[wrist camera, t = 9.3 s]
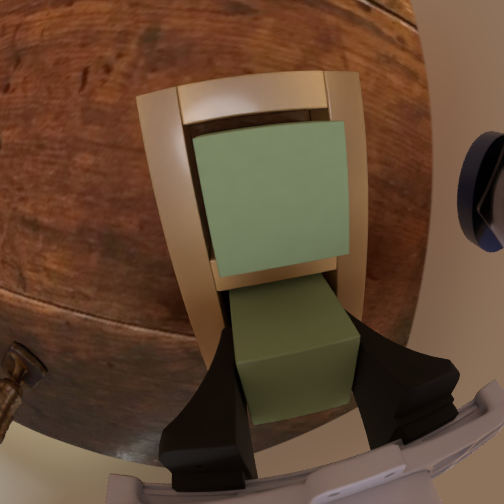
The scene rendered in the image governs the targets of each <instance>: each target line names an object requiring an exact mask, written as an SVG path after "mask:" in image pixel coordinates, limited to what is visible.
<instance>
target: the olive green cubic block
mask: <svg viewBox="0 0 504 504" xmlns="http://www.w3.org/2000/svg"><path fill="white" fill-rule="evenodd" d="M229 298H230V309H231V320H232V331H233V341H234V351H235V361H236V366H237V370H238V373H239V377H240V381H241V384H242V388H243V391H244V395H245V398H246V402H247V405H248V409H249V412H250V416H251V419H252V422H253V424H254V425H255V424H262V423H267V422H273V421H278V420H283V419H288V418H293V417H297V416H302V415H306V414H310V413H314V412H318V411H322V410H326V409H330V408H333V407H337V406H340V405H344V404H347V403H349V400H350V395H351V390H352V385H353V380H354V374H355V368H356V363H357V356H358V350H359V343H360V334H359V332H358V331H357V329H356V328H355V326H354V324H353V323H352V321H351V319H350V318H349V316H348V315H347V313H346V311H345V310H344V308H343V307H342V305H341V303H340V302H339V300H338V299H337V297H336V296H335V294H334V292H333V291H332V289H331V288H330V286H329V285H328V283H327V282H326V280H325V279H324V277H323V275H322V274H321V273H316V274H311V275H306V276H301V277H295V278H290V279H285V280H279V281H274V282H269V283H263V284H258V285H252V286H246V287H241V288H235V289H229Z"/></svg>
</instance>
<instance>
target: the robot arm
mask: <svg viewBox="0 0 504 504" xmlns="http://www.w3.org/2000/svg"><path fill="white" fill-rule="evenodd" d="M477 212H478V213H479V215H480V216H481V217H482V219H483V220H484V221H485V223H486V224H487V225H488V227H489V228H490V230H491V231H492V232H493V234H494V235H495V237H496V238H497V239H498V241H499V242H500V244H501V245H502V247H503V248H504V144H503V147H502V150H501V152H500V155H499V158H498V160H497V163H496V165H495V168H494V170H493V172H492V175H491V177H490V179H489V182H488V184H487V186H486V188H485V191H484V193H483V195H482V197H481V199H480V201H479V203H478V205H477ZM344 310H345V309H344ZM345 311H346V313H347V315H348V316H349V318H350V319H351V321H352V323H353V324H354V326H355V328H356V329H357V331H358V332H359V334H360V343H359V350H358V356H357V363H356V368H355V374H354V380H353V385H352V392H353V394H354V397H355V400H356V403H357V405H358V408H359V411H360V414H361V417H362V420H363V424H364V427H365V430H366V434H367V438H368V442H369V446H370V449H371V451H368V452H365V453H362V454H360V455H356V456H353V457H350V458H347V459H344V460H341V461H337V462H334V463H330V464H327V465H323V466H320V467H316V468H312V469H307V470H303V471H299V472H294V473H289V474H284V475H278V476H272V477H267V478H259V479H258V475H257V470H256V465H255V459H254V454H253V448H252V442H251V436H250V430H249V424H248V417H247V404H246V398H245V395H244V391H243V388H242V384H241V381H240V377H239V373H238V370H237V366H236V361H235V351H234V341H233V331H232V327H230V328H223V330H222V331H221V336H220V340H219V344H218V347H217V350H216V353H215V355H214V358H213V361H212V363H211V365H210V367H209V370H208V372H207V374H206V376H205V378H204V380H203V381H202V383H201V385H200V387H199V388H198V390H197V391H196V393H195V394H194V396H193V397H192V399H191V400H190V402H189V403H188V404H187V405H186V407H185V408H184V409H183V410H182V411H181V413H180V414H179V415H178V416H177V417H176V418H175V419H174V420H173V421H172V422H171V423H170V424H169V425H168V426H167V427H166V428H165V429H164V430H163V432H162V436H161V440H160V444H159V461H160V462H161V463H162V464H163V465H164V466H165V467H166V468H167V469H168V470H169V471H170V472H171V473H172V484H160V483H143V482H142V481H141V480H140V479H138V478H136V477H133V476H128V475H119V474H109V478H108V485H107V493H106V501H105V504H443V503H442V501H441V498H440V496H439V494H438V492H437V489H436V487H435V485H434V483H433V481H432V479H434V478H435V477H437V476H439V475H440V474H442V473H444V472H445V471H447V470H448V469H450V468H451V467H453V466H454V465H456V464H457V463H459V462H460V461H461V460H463V459H464V458H466V457H467V456H468V455H470V454H471V453H473V452H474V451H476V450H477V449H478V448H479V447H481V446H482V445H484V444H485V443H486V442H487V441H489V440H490V439H491V438H492V437H494V436H495V435H496V434H497V433H498V432H499V431H500V430H501V429H502V428H503V427H504V390H503V389H502V387H501V386H500V385H499V383H498V382H497V381H496V380H493V381H492V382H490V383H489V384H487V385H486V386H484V387H483V388H482V389H481V390H479V392H478V393H477V394H476V396H475V398H474V399H473V400H472V401H470V402H469V403H467V404H465V405H464V406H462V407H461V408H459V409H456V407H455V406H454V405H453V403H452V402H453V401H454V398H453V396H452V395H451V393H452V391H453V390H454V388H455V386H456V384H457V382H458V380H459V377H460V373H459V371H458V370H457V369H456V367H455V366H454V365H453V363H451V361H450V360H448V359H443V358H438V357H433V356H429V355H426V354H422V353H419V352H416V351H413V350H411V349H408V348H406V347H403V346H401V345H399V344H397V343H395V342H393V341H391V340H389V339H387V338H385V337H383V336H382V335H380V334H379V333H377V332H375V331H374V330H372V329H371V328H369V327H368V326H366V325H365V324H364V323H362V322H361V321H360V320H358V319H357V318H356V317H354V316H353V315H352V314H350V313H349V312H348V311H347V310H345Z"/></svg>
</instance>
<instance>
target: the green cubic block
mask: <svg viewBox="0 0 504 504" xmlns="http://www.w3.org/2000/svg"><path fill="white" fill-rule="evenodd" d="M193 146H194V151H195V157H196V162H197V168H198V173H199V179H200V184H201V189H202V195H203V200H204V205H205V210H206V215H207V220H208V225H209V230H210V235H211V240H212V244H213V249H214V254H215V258H216V263H217V268H218V272H219V276H220V277H227V276H233V275H238V274H244V273H250V272H255V271H261V270H267V269H272V268H278V267H283V266H289V265H294V264H299V263H305V262H310V261H315V260H321V259H326V258H331V257H336V256H342V255H347V254H349V187H348V167H347V151H346V138H345V127H344V121H296V122H285V123H275V124H266V125H258V126H250V127H243V128H236V129H229V130H223V131H217V132H211V133H206V134H202V135H199V136H197V137H195V138H193Z"/></svg>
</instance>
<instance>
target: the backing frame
mask: <svg viewBox="0 0 504 504" xmlns="http://www.w3.org/2000/svg"><path fill="white" fill-rule="evenodd" d="M136 102H137V108H138V114H139V120H140V126H141V132H142V137H143V143H144V148H145V153H146V158H147V163H148V168H149V172H150V177H151V182H152V186H153V190H154V195H155V199H156V203H157V207H158V212H159V216H160V220H161V224H162V227H163V231H164V235H165V239H166V243H167V246H168V250H169V254H170V257H171V261H172V264H173V268H174V271H175V274H176V278H177V281H178V285H179V288H180V291H181V294H182V297H183V301H184V304H185V307H186V310H187V313H188V316H189V319H190V322H191V325H192V328H193V331H194V334H195V337H196V340H197V343H198V345H199V348H200V351H201V354H202V357H203V359H204V362H205V365H206V367H207V370H209V367H210V365H211V363H212V361H213V358H214V355H215V353H216V350H217V347H218V344H219V340H220V336H221V331H222V330H223V328H230V324H229V320H228V315H227V311H226V307H225V303H224V298H223V294H222V291H223V290H229V289H235V288H241V287H246V286H252V285H258V284H263V283H269V282H274V281H279V280H285V279H290V278H295V277H301V276H306V275H311V274H316V273H321V274H322V275H323V277H324V279H325V280H326V282H327V283H328V285H329V286H330V288H331V289H332V291H333V292H334V294H335V296H336V297H337V299H338V300H339V302H340V303H341V305H342V307H343V308H344V309H345V310H347V311H348V312H349V313H350V314H352V315H353V316H354V317H356V318H357V319H358V320H360V321H361V320H362V311H363V301H364V290H365V278H366V262H367V241H368V169H367V149H366V134H365V122H364V111H363V102H362V93H361V86H360V78H359V73H358V72H356V71H321V70H314V71H283V72H268V73H257V74H247V75H238V76H231V77H224V78H217V79H211V80H205V81H199V82H194V83H189V84H184V85H179V86H177V87H176V86H174V87H170V88H166V89H162V90H157V91H154V92H150V93H146V94H142V95H139V96H136ZM307 110H310V116H311V121H344V127H345V138H346V151H347V167H348V187H349V254H347V255H342V256H336V257H331V258H326V259H321V260H315V261H310V262H305V263H299V264H294V265H289V266H283V267H278V268H272V269H267V270H261V271H255V272H250V273H244V274H238V275H233V276H227V277H220V276H219V272H218V268H217V263H216V258H215V254H214V249H213V244H212V240H211V239H210V235H209V230H208V225H207V220H206V215H205V210H204V205H203V200H202V195H201V190H200V184H199V179H198V174H197V168H196V163H195V157H194V152H193V146H192V140H191V134H190V128H189V126H191V125H196V124H202V123H207V122H213V121H219V120H225V119H231V118H238V117H245V116H253V115H261V114H271V113H281V112H293V111H307Z"/></svg>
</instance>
